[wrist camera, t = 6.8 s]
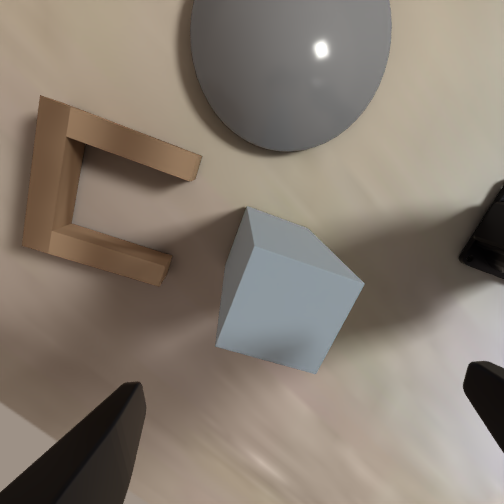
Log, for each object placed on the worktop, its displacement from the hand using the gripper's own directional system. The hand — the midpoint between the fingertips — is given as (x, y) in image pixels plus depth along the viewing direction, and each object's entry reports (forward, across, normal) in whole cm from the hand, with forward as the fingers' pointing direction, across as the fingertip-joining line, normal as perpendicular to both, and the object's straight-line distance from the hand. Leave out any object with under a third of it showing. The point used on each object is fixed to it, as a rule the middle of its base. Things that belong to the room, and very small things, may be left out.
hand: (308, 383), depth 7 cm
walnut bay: (+12, +9, -4) cm, 16 cm away
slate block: (+12, 0, 0) cm, 12 cm away
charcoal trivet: (+12, -2, -12) cm, 17 cm away
